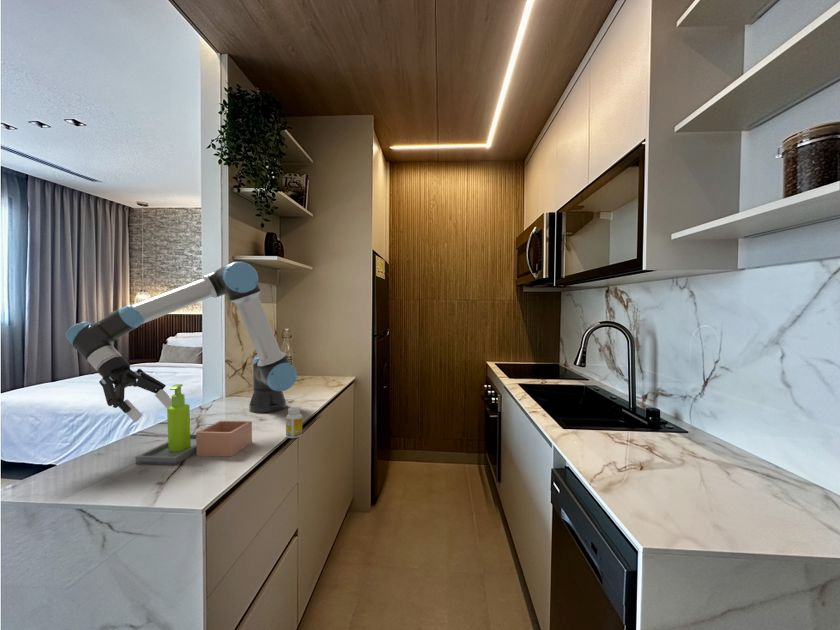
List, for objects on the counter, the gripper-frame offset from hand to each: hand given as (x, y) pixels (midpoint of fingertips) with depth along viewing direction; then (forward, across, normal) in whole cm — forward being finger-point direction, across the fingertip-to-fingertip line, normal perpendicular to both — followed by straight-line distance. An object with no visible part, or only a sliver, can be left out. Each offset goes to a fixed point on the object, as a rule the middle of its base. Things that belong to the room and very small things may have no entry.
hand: (156, 412), depth 119 cm
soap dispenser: (+13, 0, -3) cm, 14 cm away
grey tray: (+14, 0, -3) cm, 14 cm away
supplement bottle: (+35, -16, +18) cm, 43 cm away
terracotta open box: (+23, -3, +6) cm, 24 cm away
